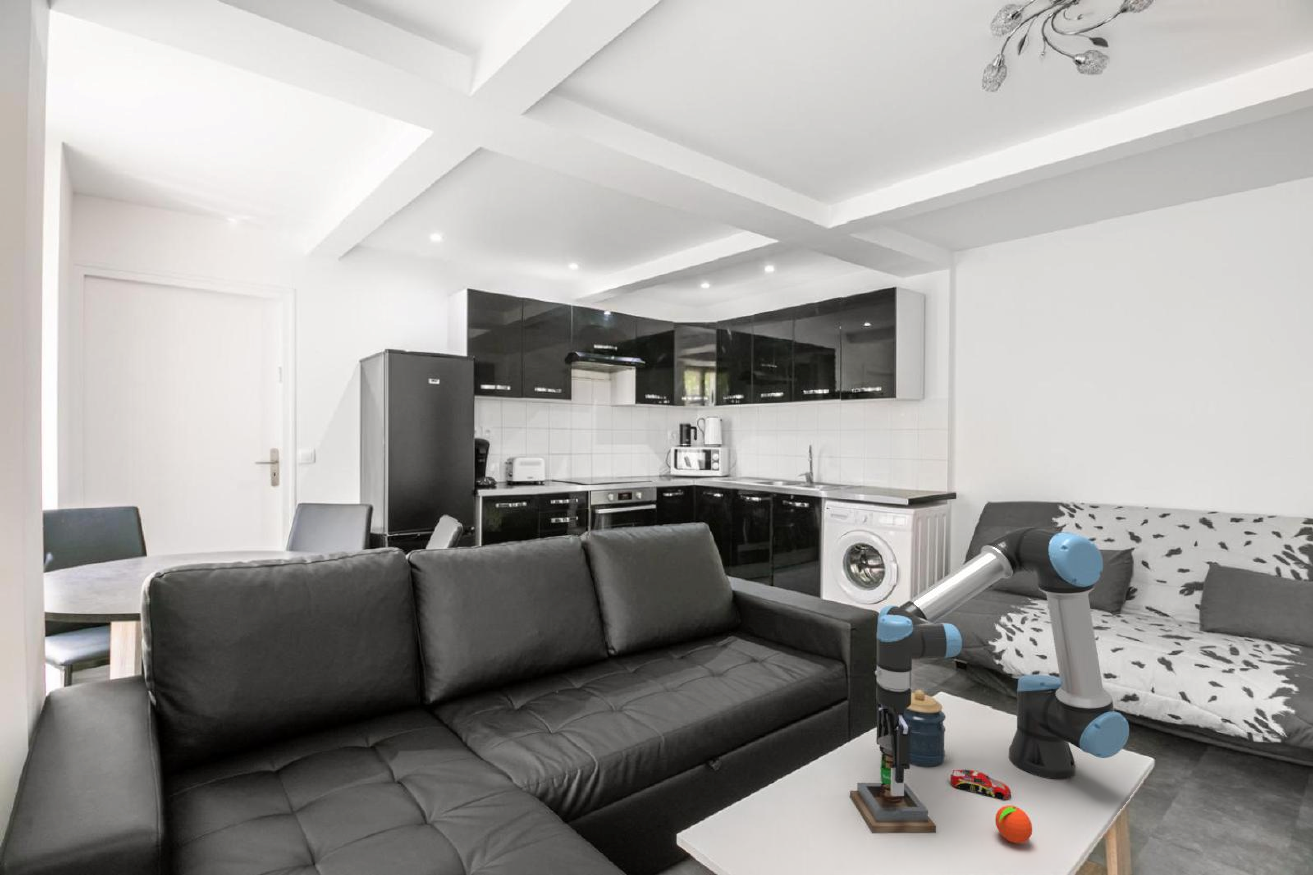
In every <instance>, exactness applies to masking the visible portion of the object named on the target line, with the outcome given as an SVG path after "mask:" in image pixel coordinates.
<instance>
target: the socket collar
mask: <svg viewBox="0 0 1313 875" xmlns="http://www.w3.org/2000/svg"><path fill="white" fill-rule="evenodd" d="M881 784H882V782H857V783H856V786H857V787H856V791H857V794H858V796H859V797H860V799H861V800H862V802H863V803H864V805H865V806H866V808H867V809H868V811H869V812H870V814H871V815H872V817H873V818H874V820H875V822H876V823H894V822H928V816H929V810H928V809H927V808H926V807H925V806H924V804H923V803H922V801H921V800H920V799H919V798H918V796H916V794H915V793H914V792H913V790H912V789H911V788H910V787H909V786H908V784H907V783H906V782H904V796H902V798H903V800H904V801H905V802H906V803H907V805H908V806H909V807H880V806H879V804H878V803H877V801H876V800H875V799H874V797H881V796H880V793H881V792H882V791H885V789H883V788H882V787H881ZM883 786H884V787H885V785H883Z"/></svg>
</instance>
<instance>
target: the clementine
mask: <svg viewBox="0 0 1313 875" xmlns="http://www.w3.org/2000/svg"><path fill="white" fill-rule="evenodd" d="M995 826H996V829H997V830H998V832H999V834H1000V836H1002V837H1003V838H1004V839H1005V840H1007V841H1008V842H1011V843H1013V844H1023V843H1026V842H1028V841H1029V840H1030V838H1031V836H1032V833H1033V823H1032V821H1031V819H1030V817H1029V816H1028V814H1027V813H1026V812H1024V811H1023V810H1022V809H1021V808H1019V807H1018V806H1015V805H1004V806H1002V807H1001V808H999V809H998V810H997V812H996V814H995Z"/></svg>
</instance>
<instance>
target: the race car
mask: <svg viewBox="0 0 1313 875" xmlns="http://www.w3.org/2000/svg"><path fill="white" fill-rule="evenodd" d="M950 784H951V785H952V786H953V787H954V788H957V789H959V790H960V791H964V792H969V793H974V794H975V793H976V794H978V795H979V794H980V795H982V796H987V797H991V798H995V799H996V800H1000V801H1003V800H1007V799H1008V800H1009V799H1010V798H1011V795H1012V792H1011V789H1010V787H1009V786H1008V785H1006V783H1003V782H1002V781H999V780H998V779H993V778H991V777H990V776H989V775H988V774H985V773H984V772H981V771H977V770H971V769H953V770H952V773H951V774H950Z"/></svg>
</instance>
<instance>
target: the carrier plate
mask: <svg viewBox="0 0 1313 875" xmlns="http://www.w3.org/2000/svg"><path fill="white" fill-rule="evenodd" d="M849 798H850V800H851V801H852V802H853V805H855V807H856V809H857V810H858V812H859V814H860V816H861V817H862V818H863V820H864V822H865V824H866V826H868V828H869V830H870V831H871V833H872V834H901V833H902V834H908V833H909V834H921V833H922V834H924V833H925V834H926V833H927V834H930V833H931V834H934V833H935V834H936V833H937V824H936V823H934V821H933V820H932V819H931V818H930V816H929V815H928V822H894V823H876V822H875V820H874V818H873V817H872V815H871V814H870V812H869V811H868V809H867V808H866V806H865V805H864V803H863V802H862V800H861V799H860V797H859V796H858V794H857V790H850V791H849ZM874 799H875V800H876V801H877V803H878V804H879V806H880V807H909V806H908V805H907V803H906V802H905V801H904V800H902V802H900V803H896V804H891V803H888V802H887V801H885V800H883V799H882V798H881V797H874Z"/></svg>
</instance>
